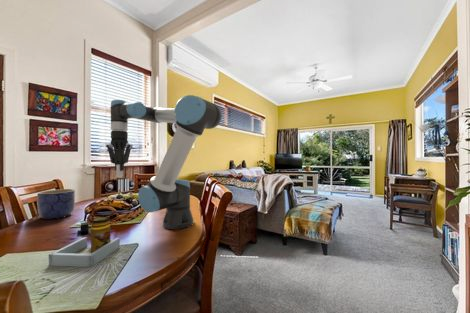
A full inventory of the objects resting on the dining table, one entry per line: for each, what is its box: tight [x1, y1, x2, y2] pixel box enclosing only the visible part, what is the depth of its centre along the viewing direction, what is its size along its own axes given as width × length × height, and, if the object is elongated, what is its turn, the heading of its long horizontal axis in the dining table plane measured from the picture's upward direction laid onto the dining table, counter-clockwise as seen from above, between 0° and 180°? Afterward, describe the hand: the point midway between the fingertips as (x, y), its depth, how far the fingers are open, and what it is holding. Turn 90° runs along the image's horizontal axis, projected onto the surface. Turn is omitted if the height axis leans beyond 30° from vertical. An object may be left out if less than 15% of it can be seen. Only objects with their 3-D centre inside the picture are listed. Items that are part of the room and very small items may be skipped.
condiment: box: [82, 216, 112, 254], centre depth 76 cm, size 7×8×12 cm
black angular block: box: [76, 221, 91, 237], centre depth 95 cm, size 12×7×5 cm, turn 35°
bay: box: [48, 236, 121, 268], centre depth 72 cm, size 14×14×4 cm
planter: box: [36, 188, 76, 220], centre depth 120 cm, size 16×16×15 cm
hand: (119, 177), depth 105 cm, fingers closed
